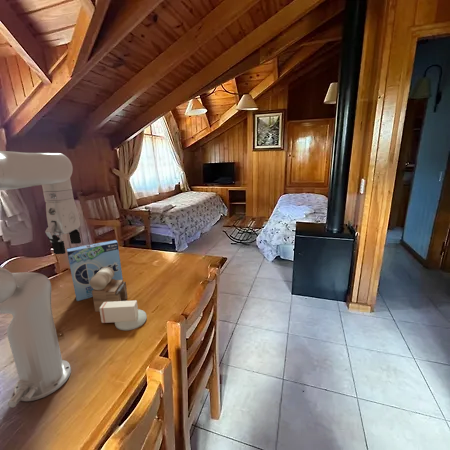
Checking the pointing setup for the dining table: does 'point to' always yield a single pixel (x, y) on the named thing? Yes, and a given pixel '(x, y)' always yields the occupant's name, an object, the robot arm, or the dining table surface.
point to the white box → (119, 311)
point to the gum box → (92, 265)
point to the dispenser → (107, 288)
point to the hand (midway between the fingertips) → (68, 248)
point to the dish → (132, 322)
